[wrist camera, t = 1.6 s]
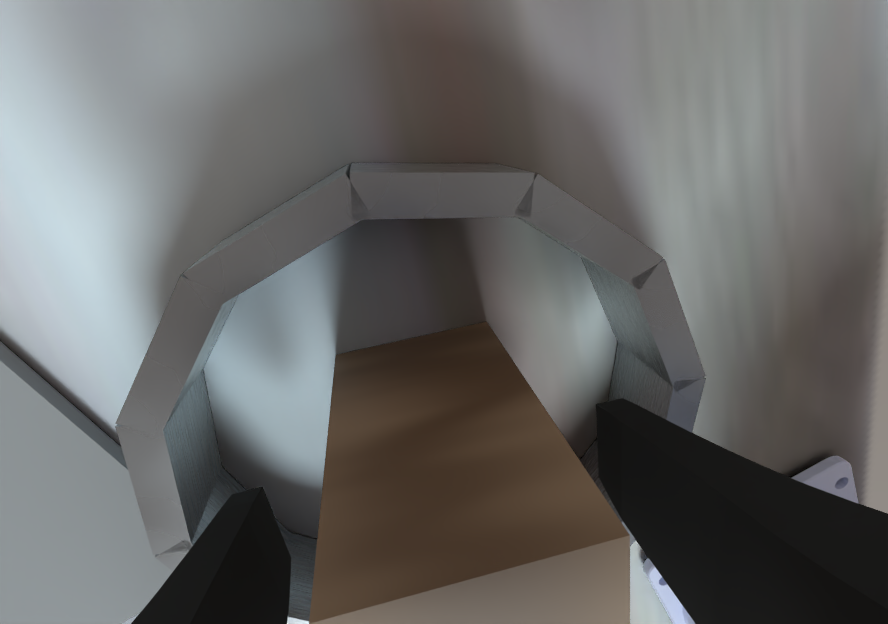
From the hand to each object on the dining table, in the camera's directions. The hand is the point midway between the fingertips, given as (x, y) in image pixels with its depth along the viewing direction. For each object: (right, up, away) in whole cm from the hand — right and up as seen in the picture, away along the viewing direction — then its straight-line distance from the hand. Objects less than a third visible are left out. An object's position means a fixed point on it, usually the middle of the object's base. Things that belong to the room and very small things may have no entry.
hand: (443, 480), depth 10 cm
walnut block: (-1, +1, +3) cm, 3 cm away
